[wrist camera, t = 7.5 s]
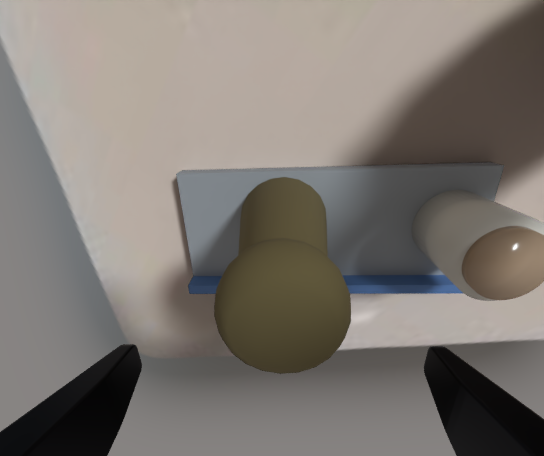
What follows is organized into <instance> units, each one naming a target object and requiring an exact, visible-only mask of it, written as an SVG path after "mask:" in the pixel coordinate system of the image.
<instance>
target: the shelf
mask: <svg viewBox="0 0 544 456" xmlns="http://www.w3.org/2000/svg"><path fill="white" fill-rule="evenodd" d="M503 168H504V165H500V164H496V163H492V162H485V163H446V164H408V165H370V166H332V167H294V168H256V169H217V170H182V171H181V172H179V173H177V174H176V175H177V181H178V187H179V193H180V199H181V205H182V211H183V217H184V223H185V229H186V235H187V240H188V246H189V252H190V258H191V264H192V270H193V278H192V280H191V282H190V283H189V285H188V288H189V294H216V289H217V286H218V284H219V282H220V279H221V278H222V276H223V274H224V272H225V270H226V268H227V266H228V265H229V264H230V263H231V262H232V261H233V260H234V259H235V258H236V257H237V256H238V252H239V235H240V218H241V211H242V205H243V203H244V201H245V199H246V197H247V196H248V194H249V193H250V192H251V191H252V190H253V189H254V188H255V187H256V186H257V185H259V184H261V183H263V182H265V181H267V180H269V179H273V178H280V177H288V178H293V179H299V180H301V181H303V182H304V183H306V184H308V185H310V186H311V187H312V188H313V189H314V190H315V191H316V192H317V193H318V194H319V195H320V196H321V199H322V201H323V203H324V206H325V208H326V220H327V250H328V258H329V259H330V260H331V261H332V262H333V263H334V264H335V265H336V266H337V267H338V268H339V269H340V272H341V274H342V276H343V278H344V280H345V283H346V285H347V287H348V290H349V293H463V292H461V291H460V290H459V289H458V288H457V287H456V286H455V285H454V284H453V283H452V282H451V281H450V280H449V279H448V278H447V277H446V276H445V275H444V274H443V273H442V272H441V271H440V270H439V269H438V268H437V267H436V266H435V265H434V263H433V262H432V261H431V260H430V259H429V258H428V257H427V256H426V255H425V254H424V253H423V252H422V251H421V250H420V249H419V248H418V247H417V246H416V244H415V243H414V240H413V237H412V224H413V221H414V218H415V216H416V214H417V212H418V211H419V210H420V208H421V207H422V206H423V205H424V204H425V203H426V202H427V201H428V200H430V199H431V198H433V197H434V196H436V195H438V194H440V193H443V192H446V191H451V190H466V191H470V192H473V193H475V194H477V195H480V196H482V197H485V198H487V199H489V200H492V201H494V199H495V196H496V192H497V189H498V185H499V182H500V179H501V175H502V172H503Z"/></svg>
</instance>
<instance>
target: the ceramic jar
mask: <svg viewBox="0 0 544 456" xmlns="http://www.w3.org/2000/svg"><path fill="white" fill-rule="evenodd" d="M412 237H413V240H414V243H415V244H416V246H417V247H418V248H419V249H420V250H421V251H422V252H423V253H424V254H425V255H426V256H427V257H428V258H429V259H430V260H431V261H432V262H433V263H434V265H435V266H436V267H437V268H438V269H439V270H440V271H441V272H442V273H443V274H444V275H445V276H446V277H447V278H448V279H449V280H450V281H451V282H452V283H453V284H454V285H455V286H456V287H457V288H458V289H459V290H460V291H461V292H463V293H464V294H466V295H467V296H469V297H471V298H474V299H478V300H485V301H494V300H507V299H513V298H517V297H520V296H522V295H524V294H527V293H529V292H530V291H532V290H534V289H535V288H537V287H538V286H539V285H540V284H541V283H542V282H543V281H544V223H543V222H541V221H539V220H537V219H534V218H532V217H530V216H527V215H525V214H523V213H520V212H518V211H515V210H513V209H511V208H508V207H506V206H504V205H501V204H499V203H496V202H494V201H492V200H489V199H487V198H485V197H482V196H480V195H477V194H475V193H473V192H470V191H466V190H451V191H446V192H443V193H440V194H438V195H436V196H434V197H433V198H431V199H430V200H428V201H427V202H426V203H425V204H424V205H423V206H422V207H421V208H420V210H419V211H418V212H417V214H416V216H415V218H414V221H413V224H412Z"/></svg>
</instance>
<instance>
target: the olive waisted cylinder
mask: <svg viewBox="0 0 544 456" xmlns="http://www.w3.org/2000/svg"><path fill="white" fill-rule="evenodd" d="M214 316H215V320H216V323H217V327H218V331H219V333H220V335H221V337H222V339H223V341H224V342H225V344H226V345H227V347H228V348H229V349H230V351H231V352H232V354H234V355H235V356H236V357H238V358H239V359H240V360H242V361H243V362H244V363H245V364H248V365H250V366H253V367H255V368H257V369H260V370H262V371H267V372H274V373H280V374H281V373H296V372H301V371H304V370H308V369H311V368H314V367H316V366H318V365H319V364H321V363H323V362H324V361H326V360H327V359H329V358H330V357H331V356H332V355H333V353H334V352H335V351H336V350H337V349H338V348H339V347H340V345H341V343H342V342H343V340H344V338H345V336H346V333H347V330H348V328H349V325H350V322H351V303H350V293H349V290H348V287H347V285H346V283H345V280H344V278H343V276H342V274H341V272H340V269H339V268H338V267H337V266H336V265H335V264H334V263H333V262H332V261H331V260H330V259H329V258H328V250H327V220H326V208H325V206H324V203H323V201H322V199H321V196H320V195H319V194H318V193H317V192H316V191H315V190H314V189H313V188H312V187H311V186H310V185H308V184H306V183H304V182H303V181H301V180H299V179H293V178H288V177H280V178H273V179H269V180H267V181H265V182H263V183H261V184H259V185H257V186H256V187H255V188H254V189H253V190H252V191H251V192H250V193H249V194H248V196H247V197H246V199H245V201H244V203H243V205H242V211H241V218H240V235H239V252H238V256H237V257H236V258H235V259H234V260H233V261H232V262H231V263H230V264H229V265H228V266H227V268H226V270H225V272H224V274H223V276H222V278H221V279H220V282H219V284H218V286H217V289H216V297H215V306H214Z"/></svg>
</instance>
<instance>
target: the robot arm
mask: <svg viewBox="0 0 544 456" xmlns="http://www.w3.org/2000/svg"><path fill="white" fill-rule="evenodd" d="M141 368H142V363H141V359H140V356H139V352H138V349H137V347H136V345H133V344H126V345H125V344H124V345H121V346H119V347H118V348H116V349H115V350H113V351H112V352H111V353H109V354H108V355H106V356H105V357H104V358H102V359H101V360H100V361H98V362H97V363H95V364H94V365H93V366H91V367H90V368H88V369H87V370H86V371H84V372H83V373H81V374H80V375H79V376H77V377H76V378H75V379H73V380H72V381H70V382H69V383H68V384H66V385H65V386H63V387H62V388H61V389H59V390H58V391H56V392H55V393H54V394H52V395H51V396H50V397H48V398H47V399H45V400H44V401H43V402H41V403H40V404H38V405H37V406H36V407H34V408H33V409H32V410H30V411H29V412H27V413H26V414H25V415H23V416H22V417H20V418H19V419H18V420H16V421H15V422H13V423H12V424H11V425H9V426H8V427H6V428H5V429H4V430H2V431H1V432H0V456H107V455H108V453H109V451H110V449H111V447H112V444H113V442H114V440H115V438H116V436H117V434H118V431H119V429H120V427H121V424H122V422H123V419H124V417H125V414H126V411H127V409H128V406H129V403H130V400H131V397H132V395H133V392H134V389H135V386H136V383H137V381H138V378H139V375H140V372H141ZM424 373H425V376H426V379H427V382H428V384H429V387H430V390H431V393H432V396H433V398H434V401H435V404H436V407H437V410H438V412H439V415H440V418H441V420H442V423H443V426H444V429H445V431H446V433H447V436H448V438H449V440H450V442H451V444H452V446H453V449H454V451H455V453H456V455H457V456H544V419H543V418H542V417H540V416H539V415H537V414H536V413H535V412H533V411H532V410H531V409H529V408H528V407H526V406H525V405H524V404H522V403H521V402H520V401H518V400H517V399H516V398H514V397H513V396H511V395H510V394H509V393H507V392H506V391H505V390H503V389H502V388H500V387H499V386H498V385H496V384H495V383H494V382H492V381H491V380H490V379H488V378H487V377H485V376H484V375H483V374H481V373H480V372H479V371H477V370H476V369H475V368H473V367H472V366H470V365H469V364H468V363H466V362H465V361H464V360H462V359H461V358H460V357H458V356H457V355H455V354H454V353H453V352H451V351H450V350H449V349H447V348H445V347H438V346H432V347H429V349H428V352H427V356H426V360H425V364H424Z"/></svg>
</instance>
